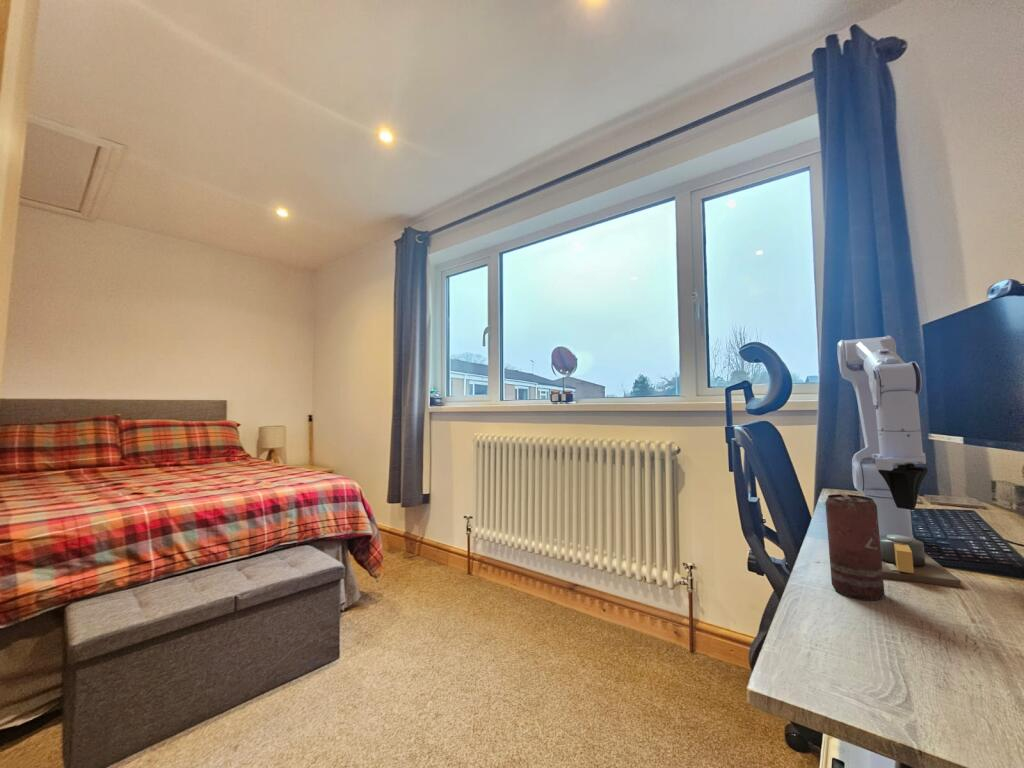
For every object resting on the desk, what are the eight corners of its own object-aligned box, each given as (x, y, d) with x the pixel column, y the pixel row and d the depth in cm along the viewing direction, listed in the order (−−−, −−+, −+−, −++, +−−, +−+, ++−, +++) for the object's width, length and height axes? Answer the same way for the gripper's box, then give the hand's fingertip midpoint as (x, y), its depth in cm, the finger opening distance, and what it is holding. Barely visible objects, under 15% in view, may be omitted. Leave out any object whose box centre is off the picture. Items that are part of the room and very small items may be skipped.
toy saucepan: (876, 551, 77) (874, 530, 77) (922, 557, 73) (920, 535, 73) (881, 568, 69) (879, 545, 69) (932, 576, 65) (930, 551, 65)
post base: (854, 551, 81) (854, 544, 81) (924, 558, 76) (924, 551, 76) (875, 577, 68) (875, 569, 69) (961, 587, 64) (960, 579, 64)
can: (863, 583, 66) (855, 492, 67) (896, 601, 60) (887, 500, 61) (822, 583, 67) (815, 492, 68) (849, 601, 60) (841, 501, 61)
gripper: (888, 428, 83) (895, 499, 82) (852, 432, 76) (858, 509, 75) (938, 429, 76) (945, 506, 75) (902, 433, 69) (910, 517, 69)
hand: (905, 508), depth 75 cm, fingers closed
